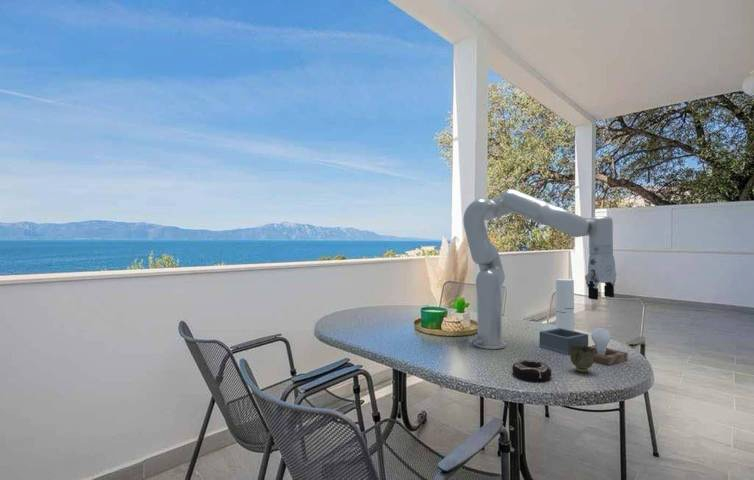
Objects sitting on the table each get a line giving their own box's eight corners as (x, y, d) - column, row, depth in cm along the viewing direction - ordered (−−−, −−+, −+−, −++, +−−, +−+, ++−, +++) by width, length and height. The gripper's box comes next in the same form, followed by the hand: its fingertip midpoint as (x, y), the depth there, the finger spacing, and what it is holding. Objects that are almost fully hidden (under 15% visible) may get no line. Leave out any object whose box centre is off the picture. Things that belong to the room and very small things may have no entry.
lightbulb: (604, 362, 138) (603, 330, 138) (587, 357, 143) (587, 327, 143) (614, 359, 141) (614, 328, 141) (598, 354, 146) (598, 325, 146)
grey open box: (568, 354, 147) (568, 338, 147) (539, 346, 157) (539, 331, 157) (588, 349, 153) (588, 334, 153) (559, 342, 164) (559, 327, 164)
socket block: (608, 365, 134) (608, 358, 134) (575, 356, 144) (575, 349, 144) (627, 360, 140) (627, 353, 140) (594, 351, 150) (594, 345, 150)
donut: (510, 380, 122) (510, 367, 122) (513, 368, 133) (513, 356, 133) (551, 385, 118) (551, 372, 117) (551, 372, 128) (551, 360, 128)
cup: (564, 368, 132) (564, 344, 132) (585, 367, 132) (585, 344, 132) (578, 376, 124) (577, 351, 124) (600, 375, 125) (600, 350, 125)
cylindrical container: (575, 337, 170) (575, 280, 170) (558, 337, 172) (558, 280, 171) (571, 333, 177) (571, 278, 177) (554, 333, 179) (554, 278, 178)
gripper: (596, 251, 134) (597, 301, 134) (625, 250, 143) (625, 297, 143) (576, 251, 141) (576, 298, 141) (604, 249, 149) (604, 294, 149)
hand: (601, 297), depth 142 cm, fingers open, 9 cm apart
